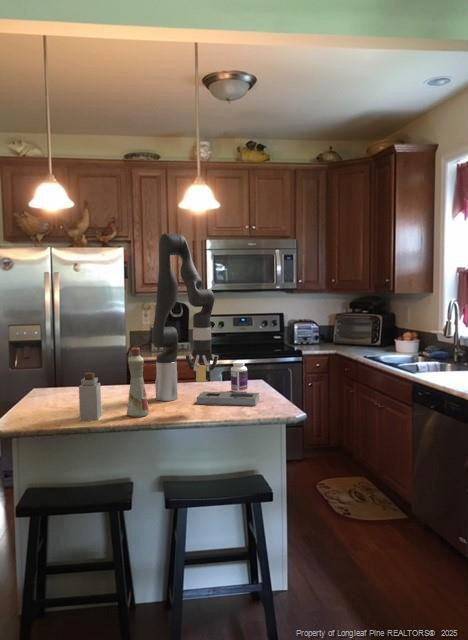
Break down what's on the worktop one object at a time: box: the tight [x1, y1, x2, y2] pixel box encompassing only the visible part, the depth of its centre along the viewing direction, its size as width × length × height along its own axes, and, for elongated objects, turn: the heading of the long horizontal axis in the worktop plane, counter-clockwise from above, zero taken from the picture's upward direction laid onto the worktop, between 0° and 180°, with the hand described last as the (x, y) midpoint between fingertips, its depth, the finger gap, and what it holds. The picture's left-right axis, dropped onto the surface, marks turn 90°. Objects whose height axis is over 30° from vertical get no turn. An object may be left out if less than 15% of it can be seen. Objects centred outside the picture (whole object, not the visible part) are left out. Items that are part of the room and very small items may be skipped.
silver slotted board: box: [196, 391, 260, 407], centre depth 228 cm, size 26×12×3 cm, turn 79°
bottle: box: [126, 346, 150, 418], centre depth 206 cm, size 9×9×28 cm
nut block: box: [195, 364, 209, 383], centre depth 210 cm, size 4×4×6 cm
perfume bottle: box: [78, 372, 102, 421], centre depth 203 cm, size 7×7×18 cm
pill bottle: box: [230, 360, 249, 393], centre depth 249 cm, size 8×8×14 cm
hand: (202, 379), depth 211 cm, fingers closed on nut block, 4 cm apart
